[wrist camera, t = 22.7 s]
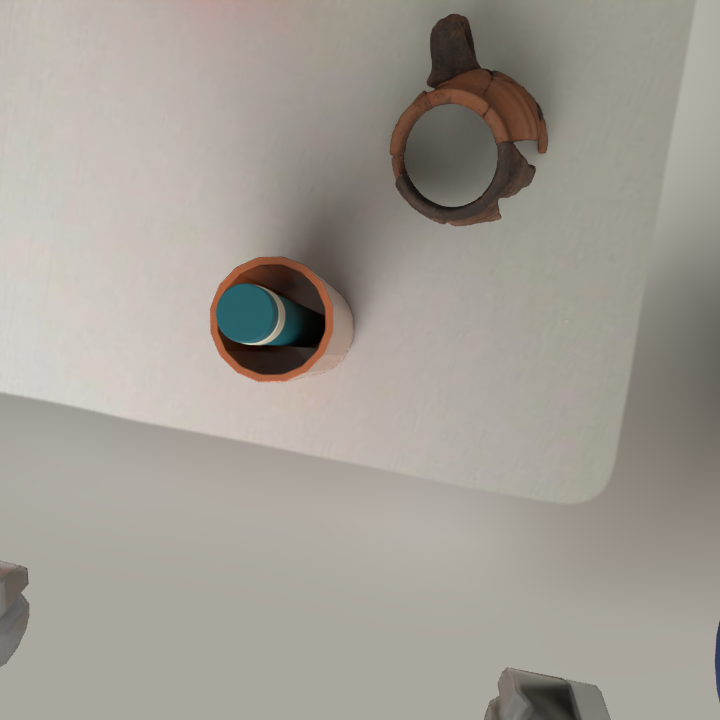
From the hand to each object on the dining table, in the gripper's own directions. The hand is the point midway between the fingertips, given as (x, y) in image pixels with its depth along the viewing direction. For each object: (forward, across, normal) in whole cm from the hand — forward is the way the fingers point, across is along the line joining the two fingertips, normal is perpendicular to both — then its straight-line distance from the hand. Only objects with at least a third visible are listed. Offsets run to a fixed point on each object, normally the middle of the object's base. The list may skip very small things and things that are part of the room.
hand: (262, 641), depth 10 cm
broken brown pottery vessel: (+35, -4, -8) cm, 36 cm away
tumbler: (+30, +3, +6) cm, 31 cm away
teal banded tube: (+30, +3, +6) cm, 30 cm away
